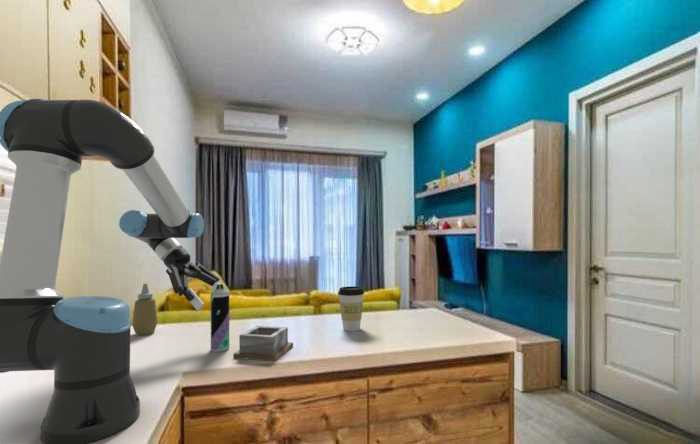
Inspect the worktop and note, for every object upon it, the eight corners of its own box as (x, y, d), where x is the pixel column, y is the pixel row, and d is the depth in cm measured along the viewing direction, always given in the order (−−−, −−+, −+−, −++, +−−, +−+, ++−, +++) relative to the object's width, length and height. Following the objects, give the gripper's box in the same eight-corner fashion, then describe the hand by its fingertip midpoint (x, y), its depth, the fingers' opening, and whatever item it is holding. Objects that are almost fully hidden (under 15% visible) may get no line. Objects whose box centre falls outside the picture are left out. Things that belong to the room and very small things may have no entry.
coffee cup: (355, 333, 125) (355, 290, 125) (333, 330, 130) (332, 288, 131) (369, 327, 133) (369, 287, 134) (347, 324, 138) (347, 285, 139)
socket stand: (275, 360, 99) (275, 338, 99) (233, 357, 102) (233, 336, 102) (293, 346, 112) (292, 326, 112) (255, 344, 115) (255, 324, 115)
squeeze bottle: (146, 337, 125) (146, 285, 126) (126, 336, 127) (126, 285, 127) (162, 330, 133) (162, 282, 133) (144, 329, 134) (144, 282, 135)
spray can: (216, 353, 106) (215, 286, 107) (207, 349, 110) (207, 284, 111) (232, 348, 111) (232, 284, 111) (224, 345, 114) (223, 282, 115)
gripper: (191, 260, 129) (228, 303, 125) (135, 266, 105) (179, 320, 101) (204, 245, 128) (242, 288, 124) (151, 248, 104) (196, 302, 100)
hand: (214, 302), depth 113 cm, fingers open, 13 cm apart
